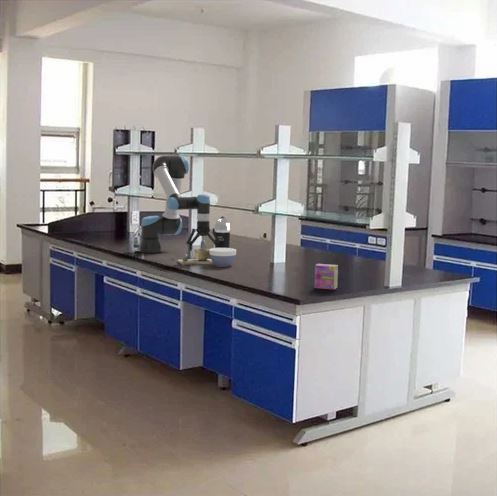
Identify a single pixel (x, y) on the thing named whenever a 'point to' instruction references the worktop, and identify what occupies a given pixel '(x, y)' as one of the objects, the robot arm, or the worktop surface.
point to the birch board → (195, 262)
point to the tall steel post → (203, 247)
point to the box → (326, 276)
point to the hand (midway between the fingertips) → (203, 255)
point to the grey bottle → (223, 232)
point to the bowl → (222, 256)
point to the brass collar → (202, 254)
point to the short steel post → (185, 257)
